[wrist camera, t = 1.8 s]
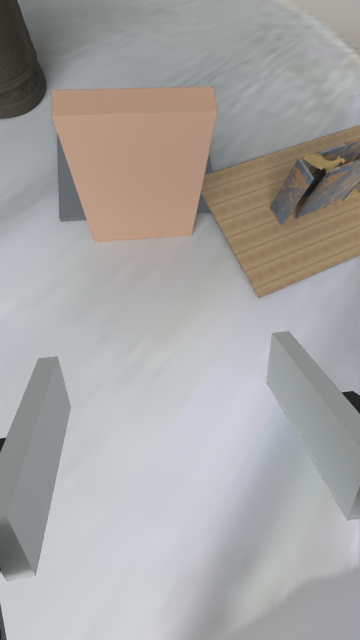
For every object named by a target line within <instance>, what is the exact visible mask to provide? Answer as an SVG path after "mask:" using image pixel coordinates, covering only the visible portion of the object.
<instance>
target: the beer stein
mask: <svg viewBox="0 0 360 640" xmlns="http://www.w3.org/2000/svg"><path fill="white" fill-rule="evenodd" d="M45 89H46V80H45V77H44V74H43V71H42V69H41V67H40V65H39V64H38V62H37V56H36V51H35V49H34V47H33V44H32V42H31V39H30V35H29V32H28V30H27V27H26V25H25V22H24V20H23V16H22V13H21V10H20V7H19V4H18V1H17V0H0V119H3V118H10V117H14V116H18V115H21V114H24V113H26V112H28V111H29V110H31V109H32V108H33V107H34V106H35V105H36V104H37V103H38V102H39V101H40V100H41V98H42V97H43V95H44V92H45Z"/></svg>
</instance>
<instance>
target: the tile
mask: <svg viewBox="0 0 360 640" xmlns="http://www.w3.org/2000/svg"><path fill="white" fill-rule="evenodd" d="M51 100H52V118H53V121H54V124H55V127H56V130H57V133H58V136H59V139H60V142H61V145H62V148H63V151H64V154H65V157H66V160H67V163H68V166H69V169H70V171H71V174H72V177H73V180H74V183H75V186H76V189H77V192H78V195H79V198H80V201H81V204H82V207H83V210H84V213H85V216H86V219H87V222H88V225H89V228H90V231H91V234H92V237H93V240H94V242H105V241H119V240H133V239H147V238H161V237H174V236H188V235H192V232H193V227H194V222H195V218H196V213H197V208H198V203H199V198H200V193H201V188H202V184H203V179H204V174H205V169H206V164H207V159H208V155H209V150H210V145H211V140H212V135H213V130H214V125H215V121H216V116H217V106H216V101H215V96H214V91H213V86H212V87H169V88H126V89H83V90H51Z"/></svg>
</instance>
